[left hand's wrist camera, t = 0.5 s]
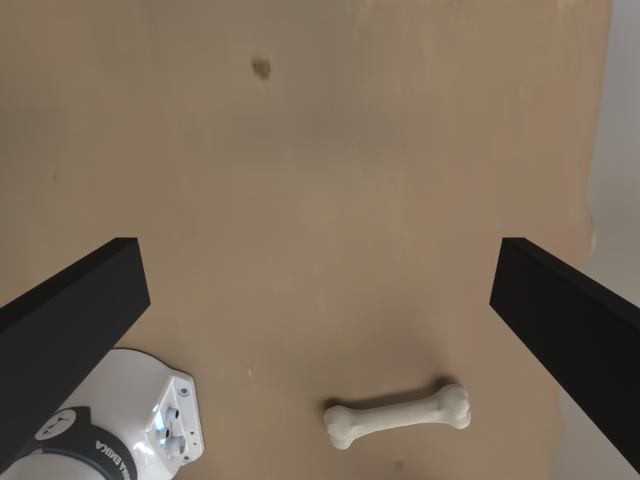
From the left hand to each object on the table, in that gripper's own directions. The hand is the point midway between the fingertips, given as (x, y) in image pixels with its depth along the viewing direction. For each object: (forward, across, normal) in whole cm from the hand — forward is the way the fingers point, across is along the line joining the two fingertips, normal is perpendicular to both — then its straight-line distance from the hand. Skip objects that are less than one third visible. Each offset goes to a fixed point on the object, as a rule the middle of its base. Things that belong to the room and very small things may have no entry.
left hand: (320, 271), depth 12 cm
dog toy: (+27, +11, -34) cm, 45 cm away
